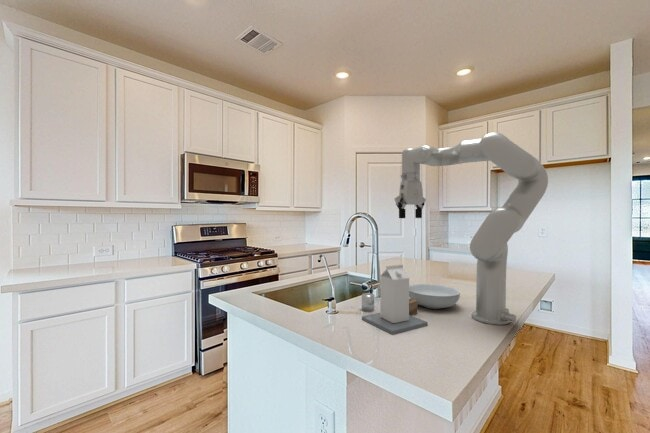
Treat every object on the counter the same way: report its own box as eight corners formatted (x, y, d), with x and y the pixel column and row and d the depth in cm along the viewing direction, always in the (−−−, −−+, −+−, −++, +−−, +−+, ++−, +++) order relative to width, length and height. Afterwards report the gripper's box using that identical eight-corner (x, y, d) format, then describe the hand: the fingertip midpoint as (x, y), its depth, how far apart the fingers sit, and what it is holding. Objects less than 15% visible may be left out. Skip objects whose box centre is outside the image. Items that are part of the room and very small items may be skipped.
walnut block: (417, 313, 121) (417, 300, 121) (410, 316, 118) (410, 303, 117) (405, 310, 125) (405, 297, 125) (399, 313, 121) (399, 300, 121)
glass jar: (376, 310, 124) (377, 295, 124) (366, 312, 122) (366, 297, 122) (369, 307, 128) (369, 292, 128) (359, 309, 126) (359, 294, 126)
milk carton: (380, 317, 112) (380, 264, 112) (396, 314, 116) (396, 263, 115) (392, 323, 106) (392, 267, 106) (409, 320, 109) (409, 266, 109)
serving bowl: (465, 315, 119) (465, 297, 118) (408, 311, 123) (408, 294, 123) (454, 300, 139) (454, 284, 139) (405, 297, 143) (405, 282, 143)
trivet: (427, 325, 108) (427, 322, 108) (392, 334, 100) (392, 330, 100) (395, 312, 122) (395, 309, 122) (362, 319, 114) (362, 316, 114)
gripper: (402, 176, 127) (401, 218, 127) (431, 178, 135) (431, 218, 136) (389, 177, 133) (389, 218, 133) (418, 179, 142) (418, 217, 142)
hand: (410, 218), depth 135 cm, fingers open, 9 cm apart
